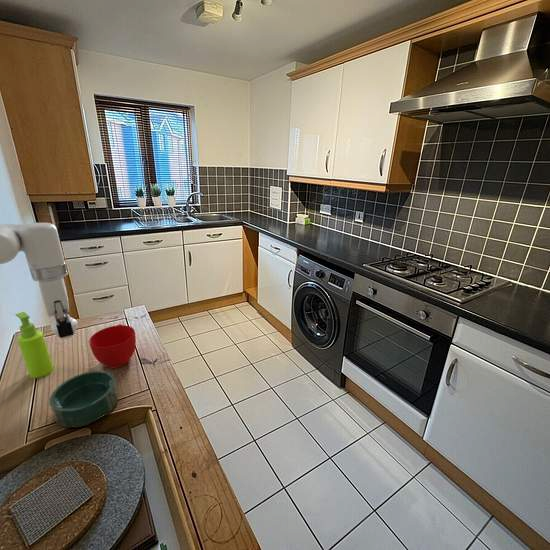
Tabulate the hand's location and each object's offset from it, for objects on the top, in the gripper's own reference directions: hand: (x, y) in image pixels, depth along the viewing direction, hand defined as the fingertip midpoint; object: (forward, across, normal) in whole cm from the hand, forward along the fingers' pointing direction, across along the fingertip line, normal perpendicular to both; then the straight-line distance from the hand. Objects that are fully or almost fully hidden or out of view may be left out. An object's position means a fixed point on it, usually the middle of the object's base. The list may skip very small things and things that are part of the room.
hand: (65, 329), depth 82 cm
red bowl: (+18, -4, +12) cm, 22 cm away
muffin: (+2, 0, 0) cm, 2 cm away
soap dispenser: (+18, -11, -9) cm, 23 cm away
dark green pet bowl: (+17, +14, +1) cm, 22 cm away
